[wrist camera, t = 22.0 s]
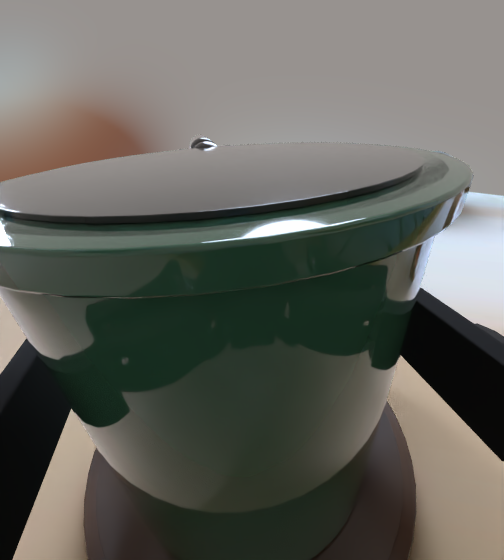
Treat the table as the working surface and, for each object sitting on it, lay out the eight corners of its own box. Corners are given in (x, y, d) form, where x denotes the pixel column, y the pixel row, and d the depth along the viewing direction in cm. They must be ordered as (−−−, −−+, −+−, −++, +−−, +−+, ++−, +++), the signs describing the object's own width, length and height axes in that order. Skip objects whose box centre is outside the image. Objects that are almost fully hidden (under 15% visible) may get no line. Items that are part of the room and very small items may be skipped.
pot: (440, 537, 10) (728, 152, 3) (88, 651, 8) (-630, 313, 2) (274, 265, 28) (271, 128, 22) (158, 283, 26) (119, 140, 20)
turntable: (119, 368, 19) (113, 355, 19) (314, 321, 22) (314, 309, 22) (32, 829, 7) (4, 838, 6) (508, 577, 10) (524, 565, 9)
